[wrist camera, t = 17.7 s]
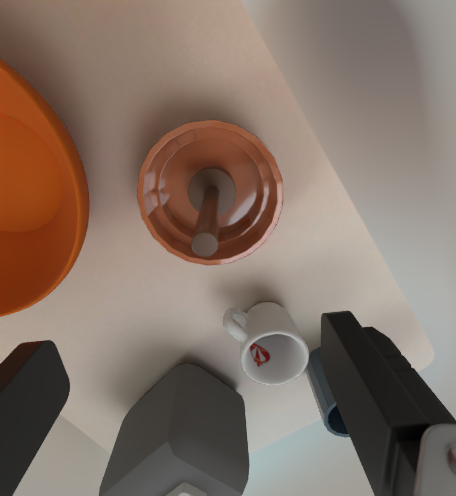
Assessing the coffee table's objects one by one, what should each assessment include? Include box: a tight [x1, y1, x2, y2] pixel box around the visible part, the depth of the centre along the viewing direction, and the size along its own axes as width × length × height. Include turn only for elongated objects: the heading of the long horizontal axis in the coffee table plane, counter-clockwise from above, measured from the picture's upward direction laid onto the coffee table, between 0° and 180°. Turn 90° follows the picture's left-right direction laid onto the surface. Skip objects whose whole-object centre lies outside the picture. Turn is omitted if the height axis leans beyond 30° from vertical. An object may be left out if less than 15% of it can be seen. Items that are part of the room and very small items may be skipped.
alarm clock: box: [99, 363, 249, 496], centre depth 39 cm, size 16×11×16 cm
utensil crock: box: [305, 347, 350, 437], centre depth 41 cm, size 7×7×9 cm
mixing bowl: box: [137, 120, 283, 265], centre depth 32 cm, size 14×14×6 cm
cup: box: [223, 302, 309, 385], centre depth 38 cm, size 11×8×8 cm
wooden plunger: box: [188, 166, 236, 257], centre depth 26 cm, size 5×5×18 cm
